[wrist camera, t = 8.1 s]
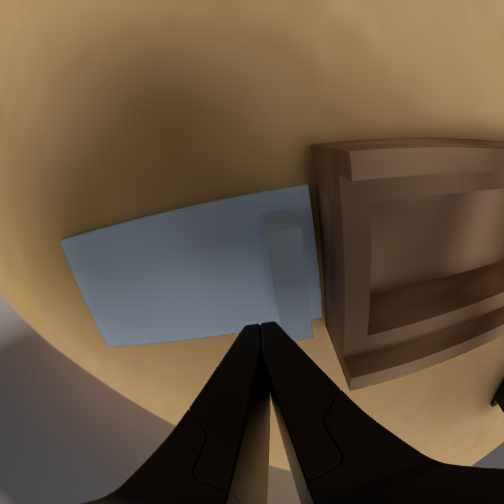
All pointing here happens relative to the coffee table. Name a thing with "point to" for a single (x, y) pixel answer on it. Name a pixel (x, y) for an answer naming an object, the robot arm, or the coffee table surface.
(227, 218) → the cover plate
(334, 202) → the pencil box
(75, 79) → the coffee table surface
